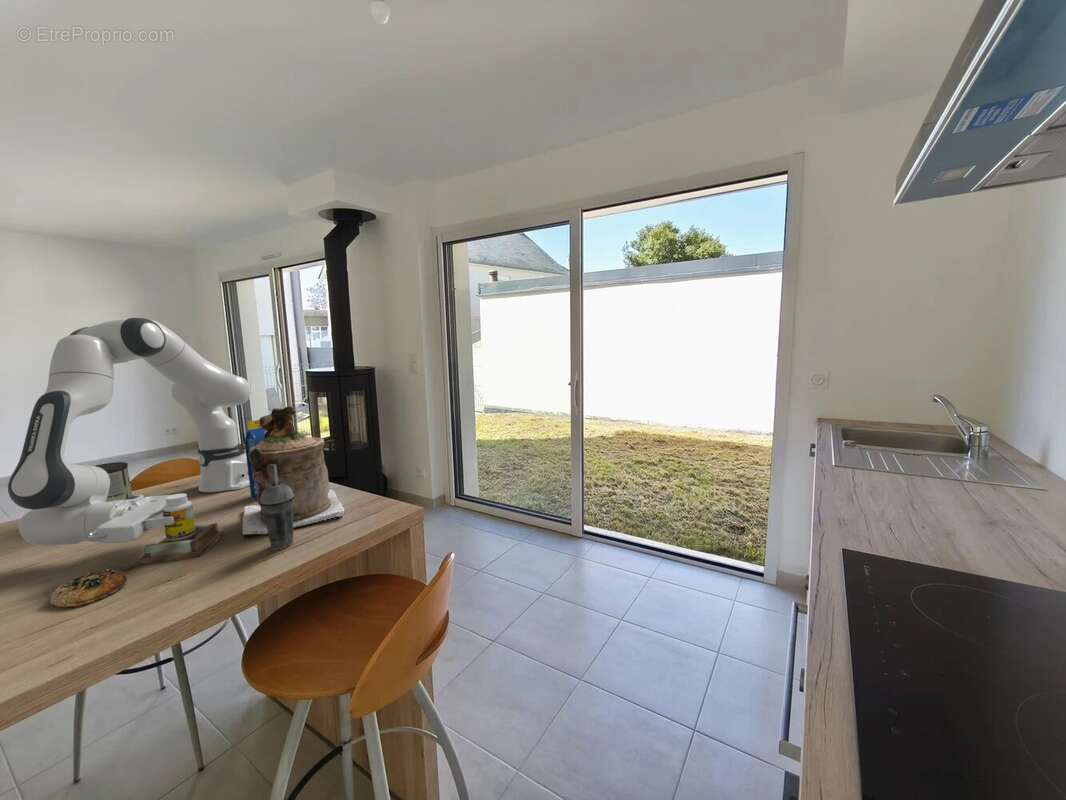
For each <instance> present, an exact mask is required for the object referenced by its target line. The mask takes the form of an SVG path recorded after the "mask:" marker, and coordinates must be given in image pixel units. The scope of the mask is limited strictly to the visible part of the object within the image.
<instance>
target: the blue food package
mask: <svg viewBox="0 0 1066 800" xmlns="http://www.w3.org/2000/svg"><path fill="white" fill-rule="evenodd" d="M247 428H248V430H247V432H246V435H245V436H244V444H245V449H244V451H245V453H246V458H247V466H248V475H249V483H250V485H249V489H250V490H249V491H250V497H251V498H254V499H257V497H258V488H259V485H258V484H256V483H255V482H254V479H253V474H254V473H253V472H252V470H251V462H250V460H249V457H248V455H249V449H251V448H252V447H255V446H256V445H257V444H258V443H260V442H261V441H262V440H263V439H264V438H265V433H266V432H267V430H266V429H263V428H261V426H260V422H259V419H256V420H251V421H250V420H249V421H247Z"/></svg>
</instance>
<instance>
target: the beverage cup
mask: <svg viewBox="0 0 1066 800" xmlns="http://www.w3.org/2000/svg"><path fill="white" fill-rule="evenodd" d="M274 473H275V483H274V484H271V485H269V486H268V487H266V488H265V489H264V491H263V492H262V494H261V497H260V505H261V508H262V511H263V513H264V517H265V522H266V526H267V531H268V534H267V535H268V539H269V543H270V545H271V549H272V548H273V549H272V550H274V549H280V548H284V547H287V546H289V545H291V544H292V543H294V528H293V505H294V498H295V497H294V494H293V491H292V490H291V488H290V487H289V486H287V485H286V484H283V483H278V481H277V467H276V464H275V465H274ZM292 545H293V544H292ZM292 545H291V546H292ZM289 547H290V546H289ZM287 548H288V547H287ZM284 549H285V548H284ZM280 550H281V549H280Z"/></svg>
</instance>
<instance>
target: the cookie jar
mask: <svg viewBox="0 0 1066 800" xmlns="http://www.w3.org/2000/svg"><path fill="white" fill-rule="evenodd" d="M297 411H298V410H296V409H294V408H293V406H291V405H287V406H285V407H284V408H281V407H280V408H279V407H277V408H275V407H274V408H273V409H272V410H271V413H270V414H267V415H263V416H261V417H260V418H259V419H258V420H259V422H260V426H261V428H263V429H266V430H267V432H266V433H265V438H264V439H263V440H262V441H261V442H260V443H258V444H257V445H256V446H255V447H252V448H251V449H249V455H248V457H249V460H250V462H251V470H252V472H253V473H254V474H253V479H254V482H255V483H256V484H258V485H259V488H258V497H257V498H256V499H257V503H258V505H254V504H253V505H247V506H244V508H243V516H242V530H241V533H242V535H243V536H245V535H247V536H248V535H268V531H267V526H266V522H265V517H264V513H263V511H262V508H261V505H260V497H261V494H262V492H263V491H264V489H265V488H266V487H268V486H269V485H271V484H274V483H275V473H274V465H275V464H276V467H277V481H278V483H283V484H286V485H287V486H289V487H290V488H291V490H292V491H293V494H294V497H295V498H294V505H293V529H294V528H298V527H302V526H306V525H309V524H313V523H314V524H315V523H319V521H320V522H323V520H324V521H328V520H327V519H329V520H332V519H331V518H333V519H336V518H335V517H340V516H342V515H344V512H345V507H344V506H343V504H342V503H341V502H340V501H339V499H338V496H337V494H336V492H335V491H334V490H333V489H330V482H329V472H328V468H327V465H326V462H325V454H324V451H323V449H324V445H325V441H324V438H321V437H314V436H307V435H304V434H303V433H302V432H298V431H296V430H295V427H294V419H293V417H294V416H293V415H294V414H296V413H297ZM340 518H341V517H340Z"/></svg>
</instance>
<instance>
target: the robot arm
mask: <svg viewBox="0 0 1066 800" xmlns="http://www.w3.org/2000/svg"><path fill="white" fill-rule="evenodd" d="M138 359H143V360H144V361H145V362H146V363H148V365H151V367H152V368H154V369H155V370H156V371H158V372H159V374H161V375H162V376H163V377H165V378H166V379H168V380H169V381H171V382H172V383H173V384H172V386H171V396H172V398H173V400H174V401H175V402H176V403H178V405H181V406H182V408H184V409H185V411H186V412H187V413H188V415H189V417H190V419H191V420H192V423H193V424H194V428H195V432H196V438H197V444H198V449H197V455H198V456H197V458H198V463H199V466H200V479H199V485H198V489H197V490H198V491H199V492H203V493H217V492H218V493H219V492H225V491H236V490H237V491H238V490H240V489H244V488H247V487H250V483H249V475H248V466H247V458H246V450H245V443H243V444H242V443H240V442H239V439H238V432H237V431H238V430H237V424H236V422H235V420H234V419H232V418H231V417H229V416H228V415H227V414H226V413H225V411H224V409H223V408H232V407H236V406H240V405H244V404H245V403H247V402H248V401H249V399H250V396H251V394H252V389H251V385H250V383H249V381H248V380H247V379H246V378H244V377H242V376H240V375H239V376H238V375H235V374H233V373H231V372H228V371H227V370H224V369H223V368H221V367H219V366H217V364H214V363H212V362H211V361H209V360H207V359H206V358H205V357H203V356H201V355H200V354H199V353H198V352H197V351H196V350H195V349H194V348H192V347H191V346H190V345H189V344H188V343H187V342H185V340H183V339H182V338H181V337H180V336H179V335H178V334H176V333H175V332H174V331H172V330H171V329H169V328H168V327H167V326H165V325H164V324H162V323H160V322H159V321H157V320H154V319H149V318H143V317H130V318H126V319H116V320H108V321H104V322H101V323H98V324H95V325H91V326H84V327H81V328H79V329H76V330H74V331H72V332H71V333H70V334H69V335H67V336H64V337H62V338H61V339H59V340H58V341H57V343H56V345H55V348H54V351H53V353H52V357H51V360H50V364H49V371H48V381H47V386H46V390H45V392H44V394H42V395H41V396H40V397H38V399H37V400H36V401H35V404H34V407H33V409H32V412H31V416H30V418H29V422H28V426H27V429H26V430H27V431H26V435H25V438H24V441H23V445H22V446H23V447H22V451H21V455H20V458H19V460H18V463H17V465H16V466H15V469H14V471H13V472H12V474H11V476H10V478H9V480H8V482H7V483H8V484H7V491H8V492H7V493H8V495H9V498H10V499H11V501H12V502H13V503H14V504H15V505H17V506H19V507H20V508H23V509H26V510H30V511H29V512H26V513H25V514H24V515H23V516H22V517H21V518H20V521H19V523H18V532H19V534H20V537H21V538H22V539H23V540H24V541H25V542H27V543H29V544H31V545H37V546H44V547H45V546H47V547H48V546H65V545H66V546H67V545H76V544H79V543H82V542H90V543H91V542H94V543H96V542H98V543H101V544H115V543H127V542H131V541H132V542H133V541H135V540H136V539H138V538H140V537H141V536H143V535H144V534H146V533H147V532H149V531H150V530H153V529H157V528H160V527H161V528H162V527H163V526H164V527H165V525H172V524H173V523H175V522H176V516H175V515H168V516H166V517H163V510H162V509H163V507H164V506H165V505H166V497H168V496H171V495H172V494H165V495H164V494H163V495H151V496H145V495H144V494H139V495H132V497H129V498H126V499H123V500H115V501H111V502H106V501H107V498H108V495H109V491H110V486H111V479H110V476H109V474H108V473H107V472H106V471H105V470H104V469H102V468H100V467H97V466H95V465H89V464H79V463H77V464H75V463H69V462H67V460H66V459H65V450H66V447H67V442H68V436H69V432H70V428H71V426H72V425H71V424H72V423H73V421H75V420H76V419H77V418H79V417H81V416H85V415H90V414H94V413H97V412H98V411H99V412H100V410H102V409H104V408H106V407H107V406H108V405H109V404H110V403H111V400H112V397H113V394H114V380H115V377H114V376H115V375H114V373H115V372H114V365H116V364H123V363H127V362H130V361H135V360H138Z"/></svg>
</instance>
